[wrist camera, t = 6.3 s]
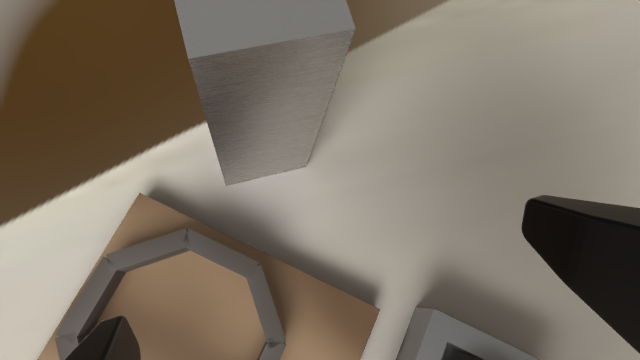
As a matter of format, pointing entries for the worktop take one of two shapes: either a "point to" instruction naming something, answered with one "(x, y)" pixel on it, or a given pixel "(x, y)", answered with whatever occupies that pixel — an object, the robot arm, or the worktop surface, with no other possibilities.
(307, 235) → the worktop surface
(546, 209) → the robot arm
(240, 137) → the billet
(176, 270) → the brown flat square block
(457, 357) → the button housing
